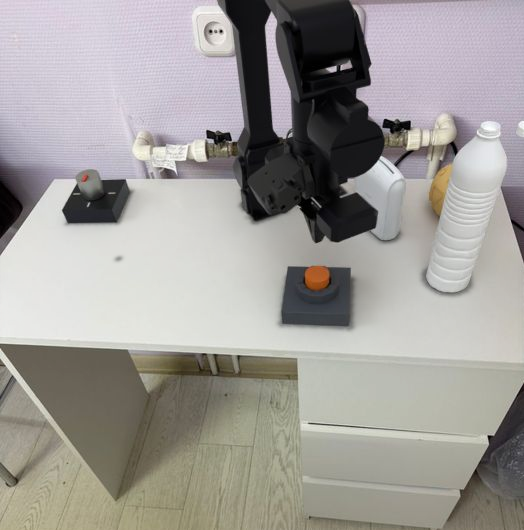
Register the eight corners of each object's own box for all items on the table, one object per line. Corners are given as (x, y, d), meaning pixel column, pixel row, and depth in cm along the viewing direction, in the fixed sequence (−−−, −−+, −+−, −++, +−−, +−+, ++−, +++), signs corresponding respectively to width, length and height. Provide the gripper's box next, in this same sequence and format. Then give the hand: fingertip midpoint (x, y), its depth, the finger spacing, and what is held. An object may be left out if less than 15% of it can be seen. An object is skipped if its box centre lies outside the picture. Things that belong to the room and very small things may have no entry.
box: (349, 279, 80) (351, 258, 76) (348, 326, 74) (350, 305, 70) (288, 278, 81) (287, 257, 78) (282, 323, 75) (280, 303, 72)
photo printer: (349, 213, 90) (352, 150, 81) (368, 205, 91) (375, 142, 82) (381, 244, 84) (389, 180, 75) (402, 236, 85) (413, 171, 76)
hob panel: (130, 191, 101) (125, 178, 99) (116, 222, 95) (111, 208, 92) (83, 192, 102) (78, 179, 100) (67, 223, 96) (61, 209, 94)
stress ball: (487, 205, 89) (504, 153, 81) (477, 238, 83) (494, 186, 76) (431, 195, 92) (442, 144, 84) (418, 226, 87) (428, 175, 79)
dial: (87, 187, 98) (78, 168, 94) (108, 187, 97) (100, 167, 94) (80, 200, 95) (71, 181, 92) (101, 200, 95) (94, 180, 91)
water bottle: (425, 291, 77) (463, 138, 57) (425, 263, 81) (460, 110, 61) (485, 296, 75) (545, 139, 56) (482, 267, 79) (537, 111, 59)
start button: (329, 274, 75) (329, 265, 74) (328, 291, 73) (328, 282, 72) (305, 273, 76) (305, 265, 74) (304, 290, 73) (304, 281, 72)
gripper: (221, 118, 60) (237, 224, 72) (291, 195, 49) (296, 304, 61) (303, 93, 62) (305, 199, 74) (387, 161, 51) (373, 273, 63)
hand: (317, 241), depth 68 cm, fingers closed
